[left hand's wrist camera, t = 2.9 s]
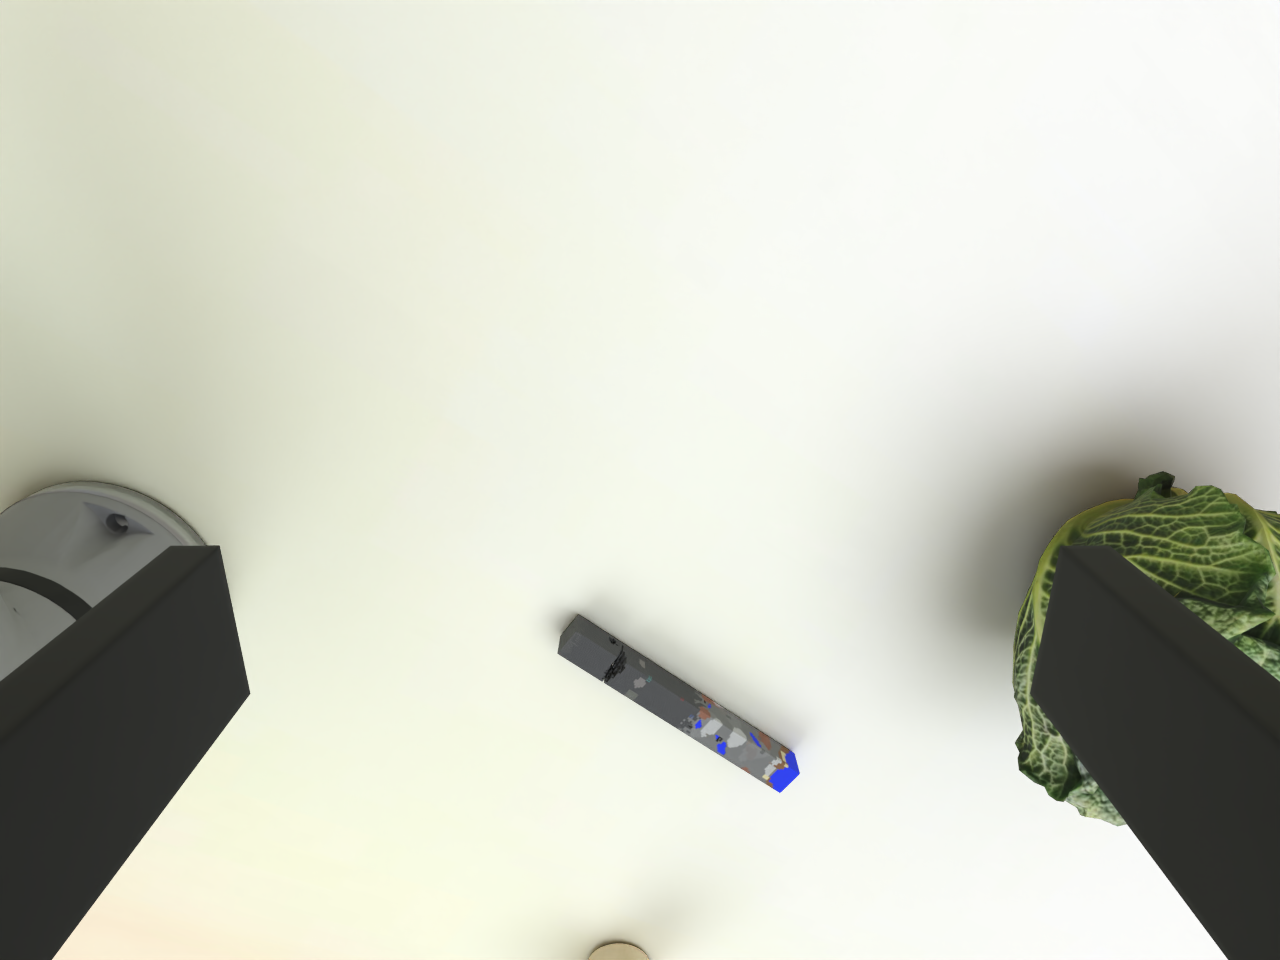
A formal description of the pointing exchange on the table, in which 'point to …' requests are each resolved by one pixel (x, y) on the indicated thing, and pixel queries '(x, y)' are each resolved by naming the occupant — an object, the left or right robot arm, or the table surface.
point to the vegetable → (1182, 565)
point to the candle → (618, 953)
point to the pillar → (677, 703)
